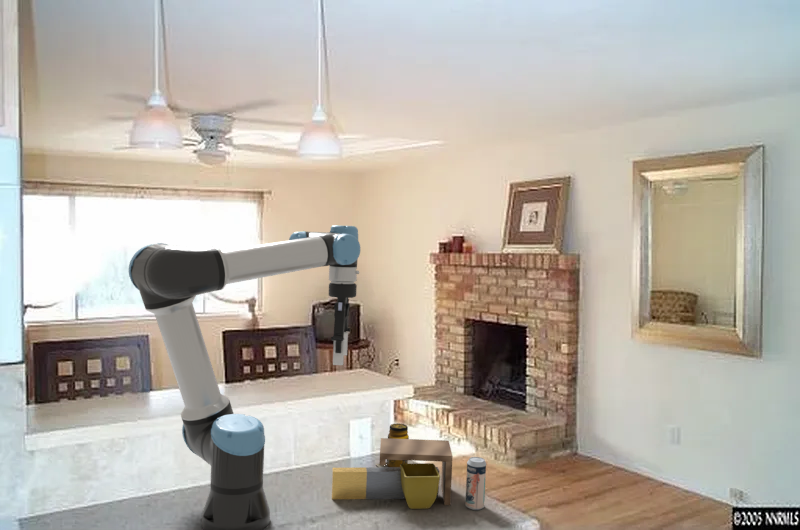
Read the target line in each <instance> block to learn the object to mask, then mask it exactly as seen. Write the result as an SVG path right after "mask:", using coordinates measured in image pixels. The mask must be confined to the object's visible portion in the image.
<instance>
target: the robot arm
mask: <svg viewBox="0 0 800 530" xmlns="http://www.w3.org/2000/svg"><path fill="white" fill-rule="evenodd" d="M360 254H361V244H360V242H359V229H358V227H357V226H355V225H337V224H335V225H334V224H333V225H331V227H330V230H329V232H323V231H321V232H320V231H304V230H303V231H295V232H292V233H291V234H290V237H289V239H288V240H283V241H276V242H275V241H274V242H268V243H263V244H256V245H249V246H248V245H247V246H242V247H241V246H240V247H235V248H228V249H220V248H218V247H216V246H210V247H187V246H186V247H185V246H180V245H170V244H166V243H162V242H161V243H159V242H157V243H153V244H148V245H144V246H143V247H141V248H140V249H138V250H137V251H136V252H135V253H134V254H133V255H132V257H131V259H130V262H129V265H128V277H129V279H130V281H131V283H132V285H133V286H134V287H135V288H136V289H137V290H138V291H139V293H140V297H141V299H142V303H143V305H144V309H145V310H146V311H148V312H150V313H152V314H154V317H155V320H156V322H157V326H158V329H159V332H160V334H161V337H162V340H163V343H164V346H165V350H166V353H167V357H168V359H169V362H170V365H171V368H172V371H173V374H174V377H175V380H176V382H177V386H178V388H179V393H180V396H181V398H182V402H183V405H184V408H182V411H181V413H180V417H181V420H182V427H181V428H182V429H181V433H182V438H183V440H184V441H183V442H184V443H185V445H186V447H187V448H188V450H189V451H191V452H192V453H193V454H195V456H198V457H199V458H201V459H202V460H203V461H204V462H206V463H207V464H208V465H210V488H209V492H208V496H207V498H206V500H205V501H206V502H205V504H204V506H203V510H202V513H201V528H202V529H203V530H264V529H265V528H266V527H267V526H268V525H269V524H270V523H271V510H270V506H269V503H268V500H267V496H266V493H265V489H264V467H265V443H266V435H265V428H264V424H263V423H262V421H261V420H259V419H258V418H257V417H255V416H251V415H246V414H243V413H234V411H233V407H232V404H231V401H230V398H229V397H228V396H226V395H224V394H222V393H221V391H220V388H219V385H218V382H217V378H216V375H215V371H214V368H213V365H212V362H211V358H210V356H209V353H208V349H207V345H206V342H205V339H204V336H203V333H202V330H201V326H200V324H199V320H198V317H197V313H196V311H195V307H194V304H193V301H194V300H195V298H196V296H198V295H202V294H208V293H212V292H217V291H222V290H223V289H224V288H225V287H226V286H227V285H228V284H234V283H240V282H245V281H250V280H255V279H260V278H261V279H263V278H267V277H272V276H273V277H274V276H279V275H284V274H289V273H294V272H300V271H305V270H310V269H315V268H320V267H328V281H330V282H329V283H328V296H329V297H331V298H337V300H336V302H335V303H334V305H333V308H334V316H333V317H334V322H333V323H334V324H333V336H331V337H330V340H331V341H333V344H332V345H333V348H332V351H333V352H332V353H333V354H332V365H333V366H344V360H345V359H344V357H345V356H348V342H349V341H348V340H349V337H348V336H349V333H350V332H351V327H349V326H350V325H349V315H350V306H351V305H350V304H351V303H349V301H350V300H349V299H350V298H351V299H352V298H355V297H357V285H358V284H357V283H355V282H356V281H357V280H358V277H357V275H359V274H360V270H357V269H358V259H359V257H360V256H361V255H360Z"/></svg>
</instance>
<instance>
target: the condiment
mask: <svg viewBox="0 0 800 530" xmlns="http://www.w3.org/2000/svg"><path fill="white" fill-rule="evenodd" d="M388 429H389V431H388V434H387V438H391V439H410V437H409V434H408V433H409V432H408V430H409V426H408V425H407V424H405V423H399V422H398V423H397V422H395V423H392V424H390V425H389V428H388ZM408 461H409V460H386V464H387V465H385V466H384V465H379V463H375V464H374V465H376V467H400V464H409V463H408Z"/></svg>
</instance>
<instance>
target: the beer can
mask: <svg viewBox="0 0 800 530" xmlns="http://www.w3.org/2000/svg"><path fill="white" fill-rule="evenodd" d="M486 472H487V462H486V460H485V459H484V457H480V456H471V457H469V459H468V460H467V462H466V479H465V480H466V481H465V482H466V484H465V503H464V505H465V507H466V508H468V509H469V510H472V511H473V510H474V511H480V510H482V509H484V507H485V498H486V495H485V494H486V475H487V473H486Z"/></svg>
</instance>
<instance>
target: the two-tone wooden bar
mask: <svg viewBox="0 0 800 530" xmlns="http://www.w3.org/2000/svg"><path fill="white" fill-rule="evenodd" d="M435 467H436V469H437V471H438V473H439V474H440V470H439V467H438V466H435ZM331 472H332V474H331V477H332V478H331V500H380V499H381V500H385V499H386V500H390V499H391V500H395V499H397V500H399V499H405V500H406V498H405V495H404V493H403V489H402V484H401V469H400V467H378V466H376V467H375V466H374V467H369V466H368V467H366V466H365V467H358V466H357V467H332V471H331ZM439 487H440V486H438V492H437V496H436V499H439V490H440V489H439Z"/></svg>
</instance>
